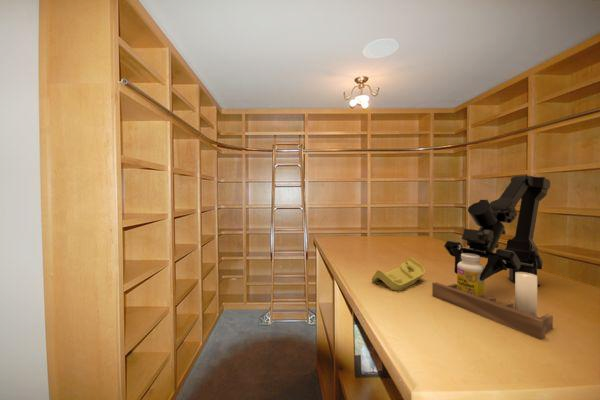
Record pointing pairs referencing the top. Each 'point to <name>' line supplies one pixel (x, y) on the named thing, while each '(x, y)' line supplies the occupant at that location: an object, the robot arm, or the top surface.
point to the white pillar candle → (526, 292)
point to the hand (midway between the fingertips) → (467, 276)
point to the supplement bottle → (470, 275)
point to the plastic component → (401, 275)
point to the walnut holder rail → (495, 310)
